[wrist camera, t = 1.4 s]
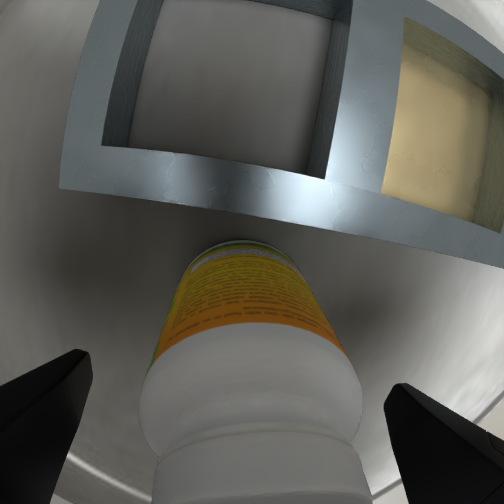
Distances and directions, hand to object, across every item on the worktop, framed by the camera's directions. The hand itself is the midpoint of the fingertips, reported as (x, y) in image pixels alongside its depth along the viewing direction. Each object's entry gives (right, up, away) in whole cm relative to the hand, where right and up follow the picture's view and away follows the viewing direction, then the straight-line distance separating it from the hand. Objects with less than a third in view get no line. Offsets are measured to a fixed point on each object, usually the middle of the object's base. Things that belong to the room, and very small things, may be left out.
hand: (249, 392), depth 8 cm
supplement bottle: (0, +2, +5) cm, 6 cm away
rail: (+8, +9, +3) cm, 13 cm away
